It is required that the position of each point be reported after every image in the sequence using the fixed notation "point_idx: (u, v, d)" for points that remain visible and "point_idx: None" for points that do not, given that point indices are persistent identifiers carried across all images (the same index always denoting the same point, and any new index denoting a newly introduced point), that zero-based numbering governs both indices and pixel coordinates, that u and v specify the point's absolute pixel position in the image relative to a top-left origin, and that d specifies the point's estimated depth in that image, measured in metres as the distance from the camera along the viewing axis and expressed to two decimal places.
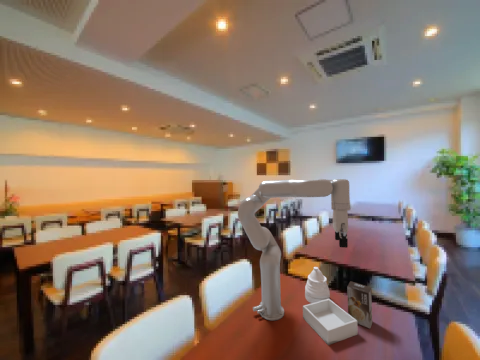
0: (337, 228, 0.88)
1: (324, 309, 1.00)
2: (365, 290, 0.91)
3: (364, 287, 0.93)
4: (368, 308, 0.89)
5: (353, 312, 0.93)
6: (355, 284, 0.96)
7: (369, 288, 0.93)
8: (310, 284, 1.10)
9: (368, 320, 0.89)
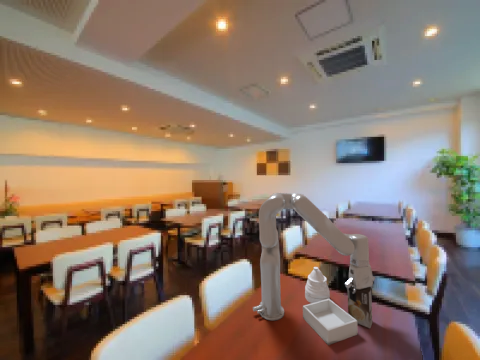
0: None
1: (324, 309, 1.00)
2: (365, 290, 0.91)
3: None
4: (368, 308, 0.89)
5: (353, 311, 0.93)
6: None
7: (369, 288, 0.93)
8: (310, 284, 1.10)
9: (368, 320, 0.89)
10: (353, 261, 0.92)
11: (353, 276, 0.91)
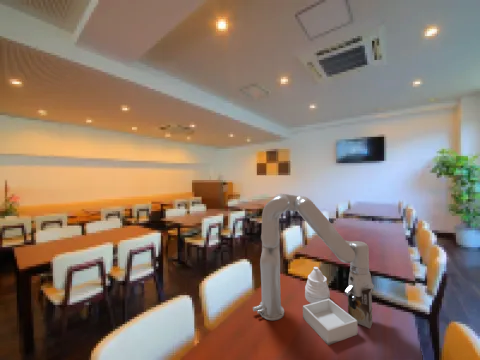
0: None
1: (324, 309, 1.00)
2: (365, 290, 0.91)
3: None
4: (368, 308, 0.89)
5: (353, 311, 0.93)
6: None
7: None
8: (310, 284, 1.10)
9: (368, 320, 0.89)
10: (353, 268, 0.92)
11: (353, 283, 0.92)
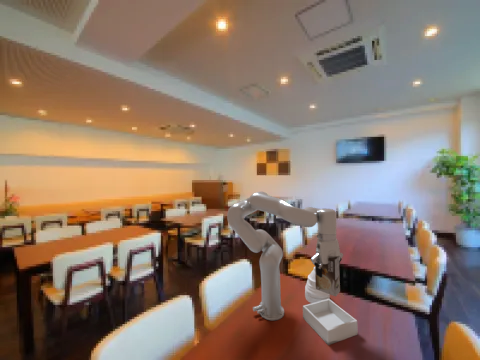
0: None
1: (324, 309, 1.00)
2: (332, 257, 0.88)
3: None
4: (334, 275, 0.86)
5: (320, 280, 0.90)
6: None
7: (337, 256, 0.89)
8: (310, 284, 1.10)
9: (334, 288, 0.86)
10: (320, 235, 0.89)
11: (319, 251, 0.88)
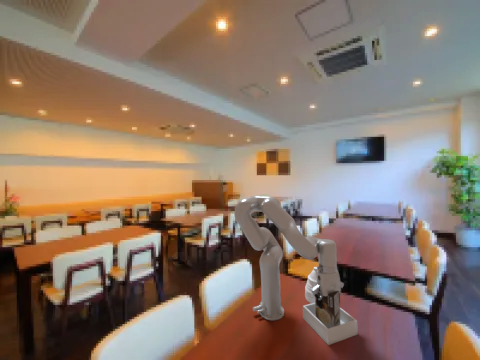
0: None
1: None
2: None
3: None
4: (333, 311, 0.86)
5: (320, 314, 0.91)
6: None
7: (336, 291, 0.90)
8: (310, 284, 1.10)
9: (333, 323, 0.87)
10: (320, 267, 0.89)
11: (320, 282, 0.89)
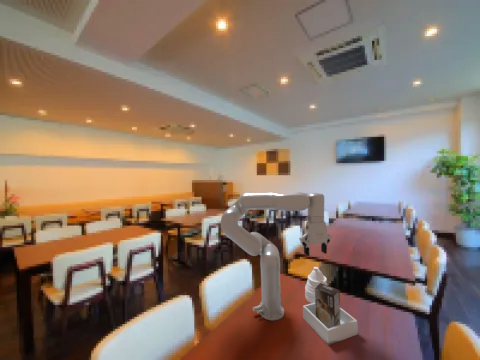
0: None
1: None
2: (331, 292, 0.88)
3: (332, 290, 0.90)
4: (333, 311, 0.86)
5: (320, 314, 0.91)
6: (324, 286, 0.94)
7: (337, 291, 0.90)
8: (310, 284, 1.10)
9: (334, 323, 0.87)
10: (308, 217, 0.96)
11: (307, 231, 0.96)
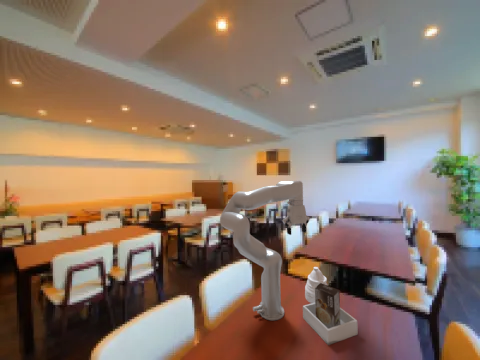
0: (306, 218, 1.12)
1: None
2: (331, 292, 0.88)
3: (332, 290, 0.90)
4: (333, 311, 0.86)
5: (320, 314, 0.91)
6: (324, 286, 0.94)
7: (337, 291, 0.90)
8: (310, 284, 1.10)
9: (334, 323, 0.87)
10: (290, 201, 1.11)
11: (289, 213, 1.10)
